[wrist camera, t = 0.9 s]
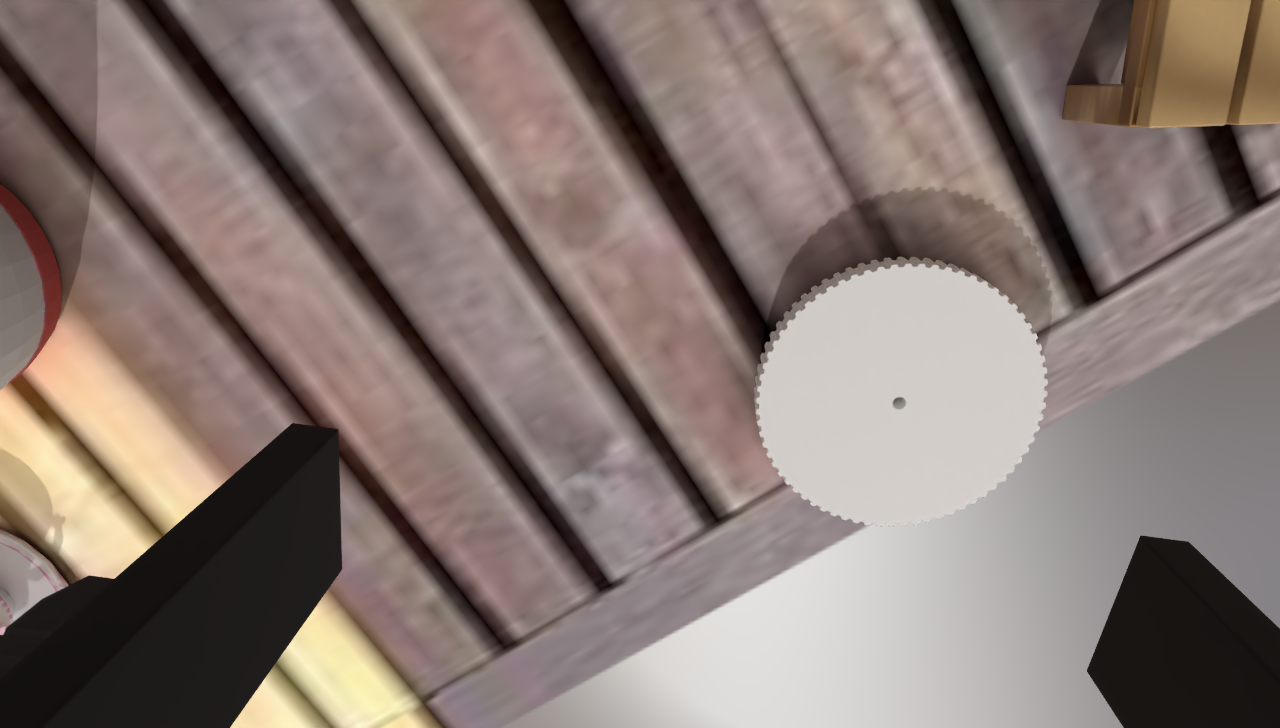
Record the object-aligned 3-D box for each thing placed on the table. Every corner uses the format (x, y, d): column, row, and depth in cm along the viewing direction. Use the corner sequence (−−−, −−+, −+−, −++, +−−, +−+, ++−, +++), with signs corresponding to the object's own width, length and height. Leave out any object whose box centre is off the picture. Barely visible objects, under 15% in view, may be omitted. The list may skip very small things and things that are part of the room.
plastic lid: (713, 314, 40) (714, 329, 38) (984, 207, 38) (1004, 216, 35) (805, 534, 44) (811, 560, 42) (1056, 452, 42) (1078, 474, 39)
